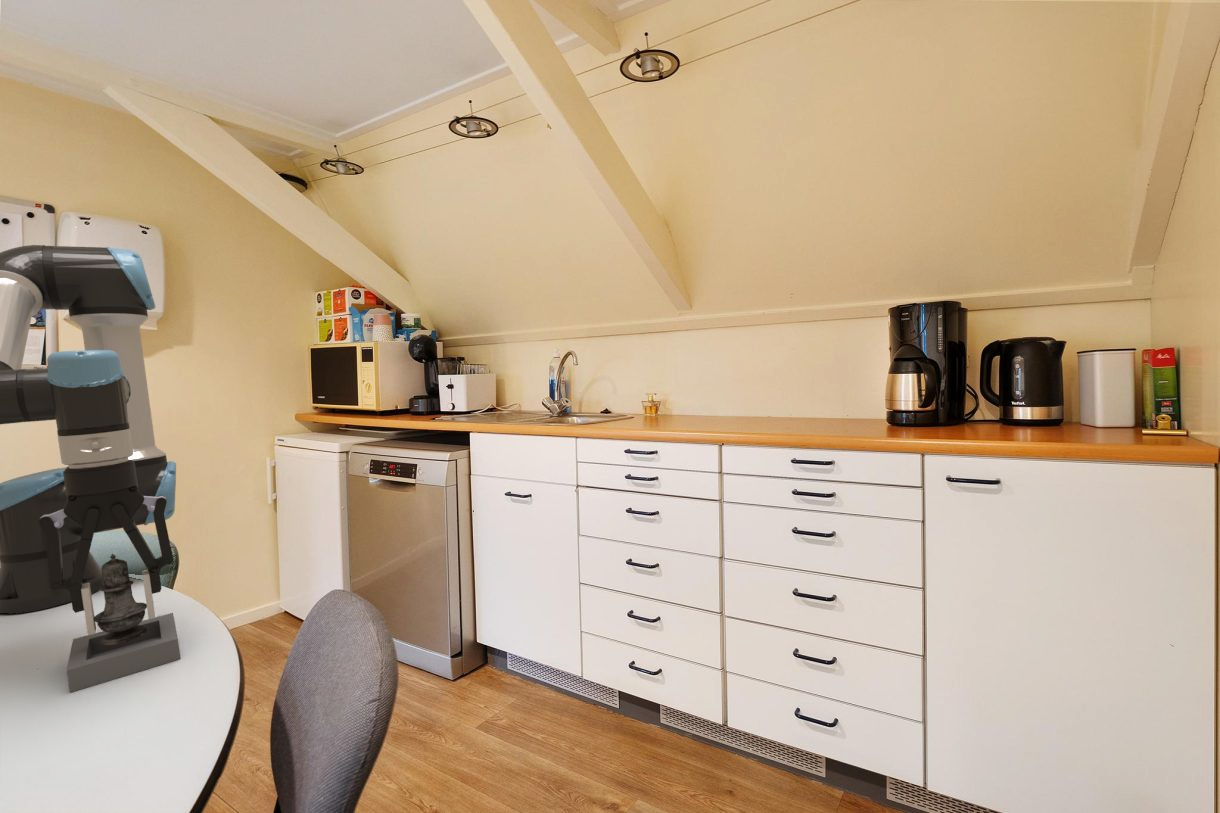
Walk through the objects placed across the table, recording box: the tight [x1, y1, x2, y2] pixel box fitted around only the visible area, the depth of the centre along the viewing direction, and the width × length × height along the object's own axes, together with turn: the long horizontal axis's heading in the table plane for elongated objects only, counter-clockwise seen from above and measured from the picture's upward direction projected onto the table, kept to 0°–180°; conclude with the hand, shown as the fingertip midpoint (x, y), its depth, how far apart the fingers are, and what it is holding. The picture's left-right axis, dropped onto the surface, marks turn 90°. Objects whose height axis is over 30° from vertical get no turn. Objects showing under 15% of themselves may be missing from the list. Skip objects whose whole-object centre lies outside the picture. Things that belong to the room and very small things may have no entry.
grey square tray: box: [66, 612, 181, 693], centre depth 84 cm, size 12×12×3 cm
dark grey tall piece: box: [94, 553, 148, 645], centre depth 83 cm, size 6×6×12 cm
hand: (122, 623), depth 83 cm, fingers closed on dark grey tall piece, 6 cm apart
